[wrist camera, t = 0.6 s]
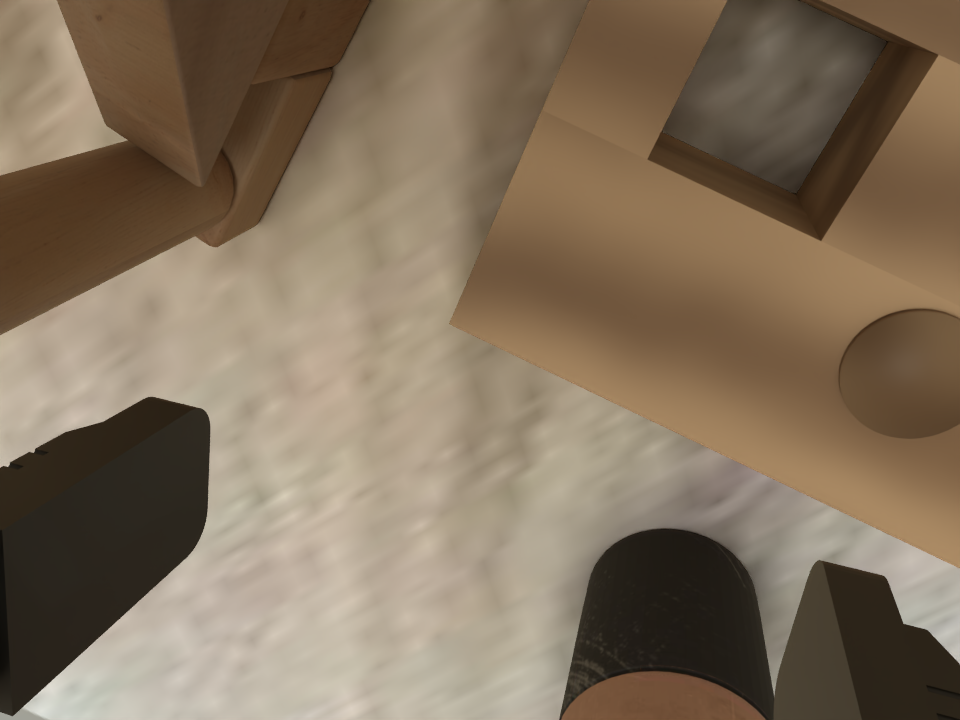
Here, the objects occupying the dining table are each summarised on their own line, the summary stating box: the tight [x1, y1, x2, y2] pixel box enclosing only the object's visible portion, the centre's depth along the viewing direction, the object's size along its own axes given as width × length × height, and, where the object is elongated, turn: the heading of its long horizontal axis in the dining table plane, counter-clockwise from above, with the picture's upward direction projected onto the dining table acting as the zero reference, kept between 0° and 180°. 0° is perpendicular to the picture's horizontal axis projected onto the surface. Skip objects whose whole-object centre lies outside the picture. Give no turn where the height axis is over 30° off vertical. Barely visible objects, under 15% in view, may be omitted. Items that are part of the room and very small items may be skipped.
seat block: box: [449, 0, 960, 568], centre depth 27 cm, size 15×18×6 cm
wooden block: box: [0, 0, 370, 335], centre depth 24 cm, size 4×11×18 cm, turn 148°
